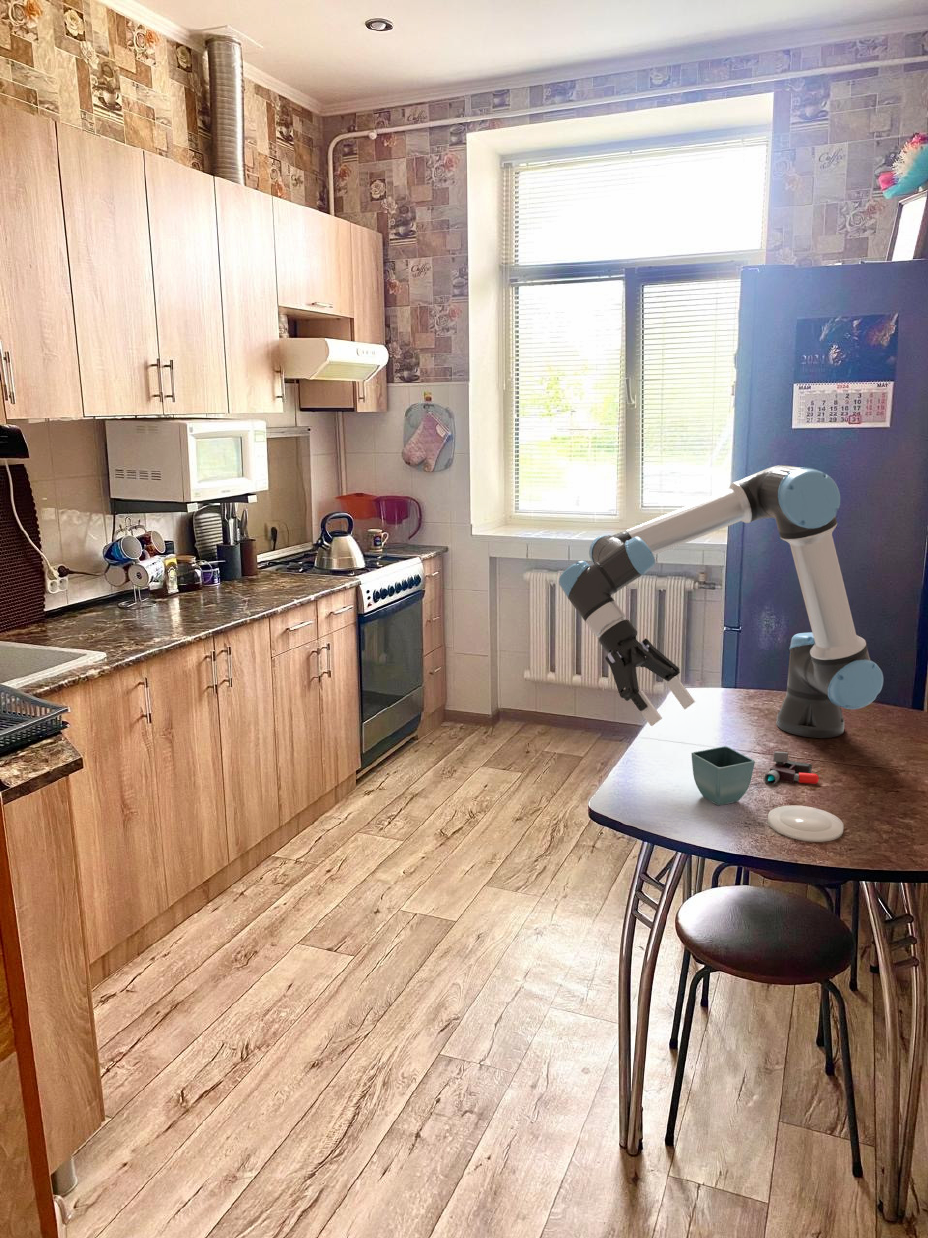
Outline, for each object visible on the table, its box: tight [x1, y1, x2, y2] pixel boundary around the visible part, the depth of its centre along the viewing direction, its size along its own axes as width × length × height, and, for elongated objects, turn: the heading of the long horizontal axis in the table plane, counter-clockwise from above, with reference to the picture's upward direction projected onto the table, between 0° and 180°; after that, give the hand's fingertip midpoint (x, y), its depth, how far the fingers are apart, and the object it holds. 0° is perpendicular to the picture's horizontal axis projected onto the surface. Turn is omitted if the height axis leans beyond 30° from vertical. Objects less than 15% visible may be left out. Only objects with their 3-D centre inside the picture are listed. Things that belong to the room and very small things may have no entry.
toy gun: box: [763, 751, 820, 785], centre depth 191 cm, size 10×12×5 cm
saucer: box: [767, 804, 844, 843], centre depth 170 cm, size 13×13×1 cm
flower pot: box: [691, 745, 756, 806], centre depth 181 cm, size 9×9×9 cm
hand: (673, 714), depth 185 cm, fingers open, 13 cm apart
